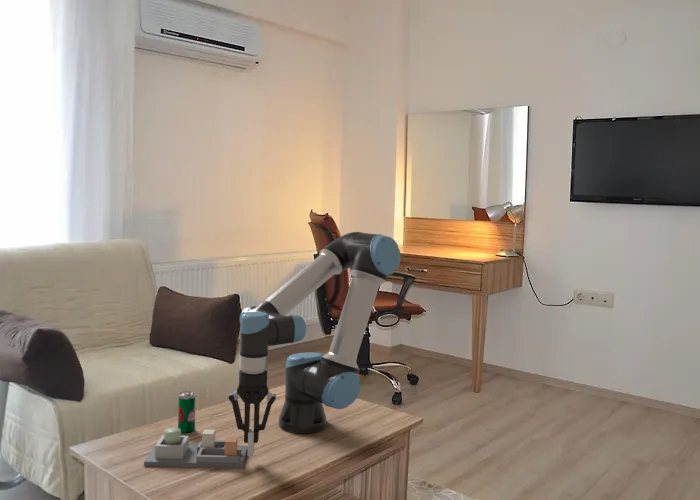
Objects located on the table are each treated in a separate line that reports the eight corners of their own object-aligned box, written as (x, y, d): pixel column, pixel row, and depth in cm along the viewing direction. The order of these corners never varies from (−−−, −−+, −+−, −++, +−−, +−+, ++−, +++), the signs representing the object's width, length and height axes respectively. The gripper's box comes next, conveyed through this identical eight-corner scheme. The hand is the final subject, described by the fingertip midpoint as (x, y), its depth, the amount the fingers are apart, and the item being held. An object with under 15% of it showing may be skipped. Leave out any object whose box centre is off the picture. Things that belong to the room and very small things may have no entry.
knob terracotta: (237, 454, 176) (237, 437, 175) (235, 459, 173) (236, 441, 172) (226, 454, 176) (226, 437, 175) (224, 459, 173) (224, 441, 172)
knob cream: (214, 446, 181) (215, 429, 180) (212, 451, 178) (213, 433, 177) (204, 446, 181) (204, 429, 180) (202, 450, 178) (202, 433, 177)
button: (182, 438, 178) (182, 427, 178) (178, 444, 174) (178, 434, 173) (166, 437, 178) (166, 427, 178) (162, 444, 174) (162, 433, 173)
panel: (247, 449, 183) (247, 434, 183) (241, 468, 171) (242, 452, 171) (156, 447, 182) (156, 431, 182) (143, 465, 170) (144, 449, 170)
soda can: (190, 435, 191) (191, 396, 190) (174, 433, 192) (175, 395, 191) (197, 429, 196) (198, 391, 195) (182, 427, 197) (183, 389, 196)
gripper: (278, 366, 176) (275, 448, 178) (231, 365, 175) (228, 447, 178) (276, 374, 168) (273, 460, 171) (226, 373, 168) (224, 459, 170)
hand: (250, 453), depth 174 cm, fingers closed
